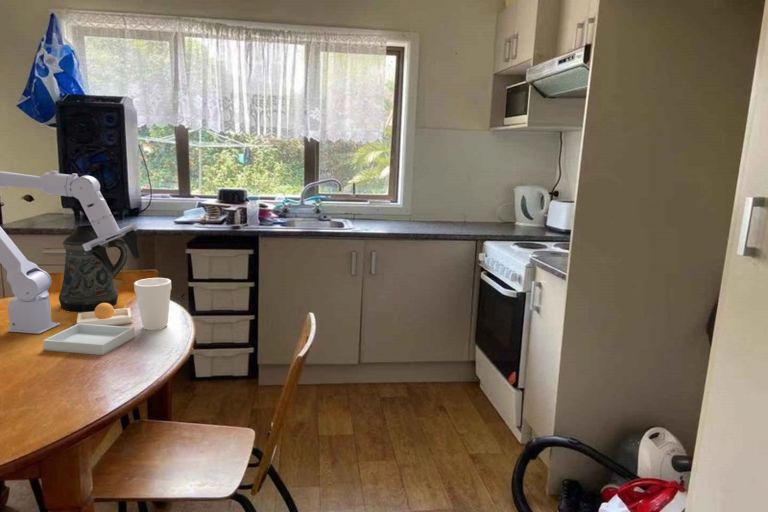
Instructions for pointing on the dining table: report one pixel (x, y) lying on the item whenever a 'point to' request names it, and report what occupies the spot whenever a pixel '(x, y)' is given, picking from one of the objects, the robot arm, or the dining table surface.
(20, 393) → the dining table surface
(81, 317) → the dish
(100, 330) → the tray
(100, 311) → the ball
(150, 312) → the foam cup
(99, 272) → the beer stein
